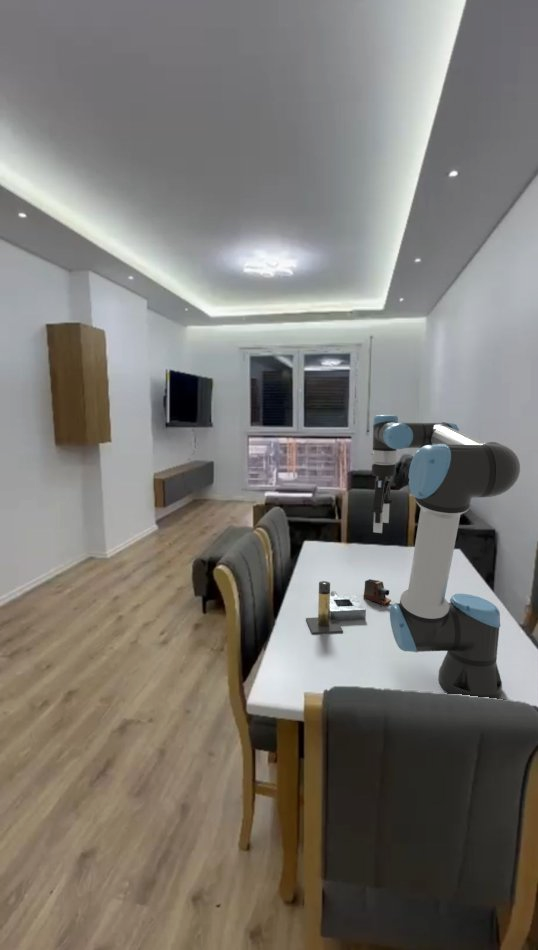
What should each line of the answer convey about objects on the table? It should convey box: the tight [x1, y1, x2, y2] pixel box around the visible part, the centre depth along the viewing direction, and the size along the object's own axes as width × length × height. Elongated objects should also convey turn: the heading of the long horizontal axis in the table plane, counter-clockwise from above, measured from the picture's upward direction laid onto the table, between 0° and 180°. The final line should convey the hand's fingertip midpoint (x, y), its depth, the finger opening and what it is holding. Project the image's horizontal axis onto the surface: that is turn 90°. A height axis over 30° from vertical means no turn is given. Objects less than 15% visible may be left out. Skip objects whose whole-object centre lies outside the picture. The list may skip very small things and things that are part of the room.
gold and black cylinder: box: [317, 580, 331, 627], centre depth 154 cm, size 4×4×14 cm
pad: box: [305, 616, 344, 635], centre depth 155 cm, size 10×10×1 cm
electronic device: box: [363, 578, 392, 607], centre depth 174 cm, size 4×10×8 cm, turn 42°
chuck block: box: [329, 590, 367, 622], centre depth 168 cm, size 20×12×4 cm, turn 7°
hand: (381, 527), depth 156 cm, fingers open, 13 cm apart
